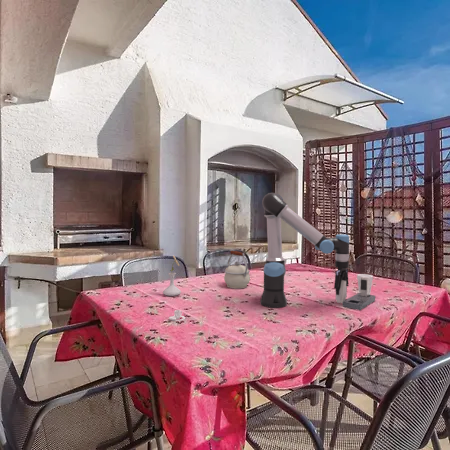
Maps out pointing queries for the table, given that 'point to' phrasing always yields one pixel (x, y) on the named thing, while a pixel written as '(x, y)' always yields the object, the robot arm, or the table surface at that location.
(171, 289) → the flower in vase
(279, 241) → the robot arm
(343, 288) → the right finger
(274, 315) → the table surface
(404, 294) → the table surface
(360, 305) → the grey and white block
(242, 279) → the kettle
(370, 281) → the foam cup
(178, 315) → the teacup and saucer
